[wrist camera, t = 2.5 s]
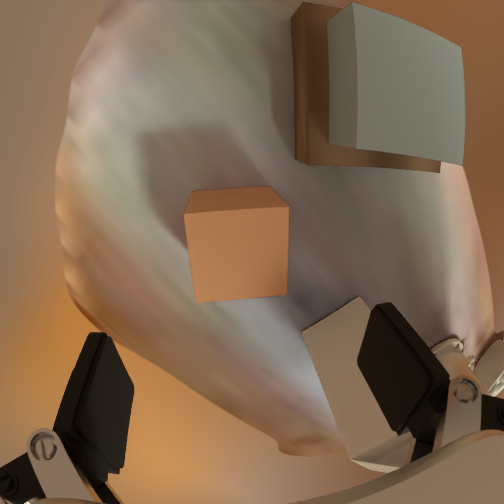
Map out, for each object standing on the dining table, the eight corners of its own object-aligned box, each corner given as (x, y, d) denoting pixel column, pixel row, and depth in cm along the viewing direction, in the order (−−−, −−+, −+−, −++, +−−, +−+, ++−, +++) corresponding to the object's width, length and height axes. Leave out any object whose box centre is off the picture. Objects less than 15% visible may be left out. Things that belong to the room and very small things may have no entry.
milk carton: (325, 363, 31) (383, 503, 14) (300, 331, 28) (365, 504, 11) (376, 332, 30) (456, 461, 13) (358, 294, 27) (463, 448, 10)
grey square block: (427, 53, 14) (460, 47, 10) (427, 156, 18) (462, 165, 14) (326, 22, 13) (352, 2, 9) (328, 143, 17) (356, 148, 13)
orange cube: (270, 186, 21) (289, 206, 16) (270, 255, 24) (286, 294, 18) (192, 191, 21) (183, 214, 15) (199, 261, 23) (195, 302, 18)
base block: (410, 47, 17) (437, 40, 13) (412, 164, 22) (439, 173, 19) (288, 20, 16) (302, 2, 12) (293, 158, 21) (308, 164, 17)
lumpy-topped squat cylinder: (467, 384, 45) (484, 408, 37) (479, 354, 40) (500, 380, 32) (494, 362, 45) (511, 383, 37) (507, 329, 39) (528, 352, 31)
